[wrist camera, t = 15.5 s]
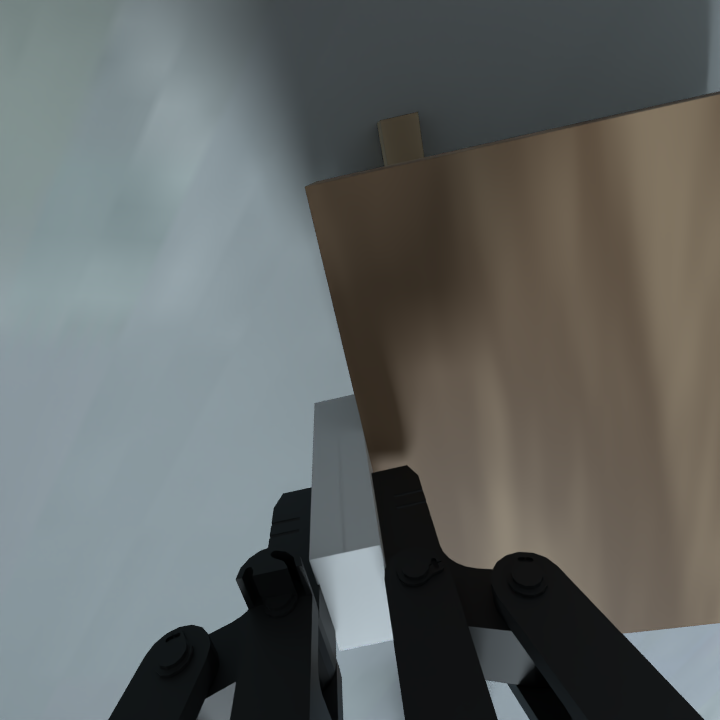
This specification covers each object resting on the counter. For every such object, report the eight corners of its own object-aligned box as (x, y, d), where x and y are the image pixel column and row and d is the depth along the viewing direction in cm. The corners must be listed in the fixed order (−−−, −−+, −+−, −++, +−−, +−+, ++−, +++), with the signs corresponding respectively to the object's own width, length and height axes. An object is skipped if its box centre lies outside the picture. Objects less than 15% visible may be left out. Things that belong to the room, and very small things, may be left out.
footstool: (416, 655, 17) (914, 601, 15) (304, 186, 10) (1135, 1, 9) (401, 478, 26) (708, 431, 24) (337, 172, 20) (744, 80, 18)
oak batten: (439, 487, 27) (444, 501, 26) (376, 123, 19) (380, 120, 18) (465, 481, 27) (471, 495, 26) (412, 115, 19) (417, 111, 18)
